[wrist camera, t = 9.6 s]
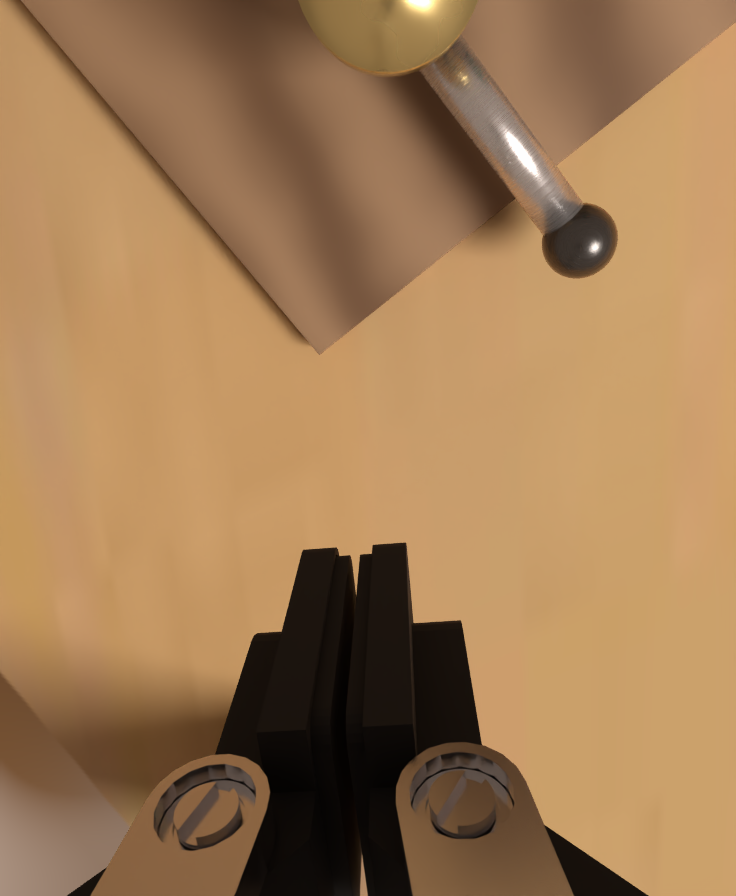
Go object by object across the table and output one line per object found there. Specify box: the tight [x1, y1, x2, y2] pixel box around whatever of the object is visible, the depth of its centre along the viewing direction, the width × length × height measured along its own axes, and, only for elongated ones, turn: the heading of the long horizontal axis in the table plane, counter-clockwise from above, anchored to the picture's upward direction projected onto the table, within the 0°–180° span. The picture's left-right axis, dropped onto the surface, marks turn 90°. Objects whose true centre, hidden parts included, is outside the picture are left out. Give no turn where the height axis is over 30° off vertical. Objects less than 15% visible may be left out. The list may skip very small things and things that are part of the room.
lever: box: [298, 0, 618, 278], centre depth 24 cm, size 16×6×5 cm, turn 41°
